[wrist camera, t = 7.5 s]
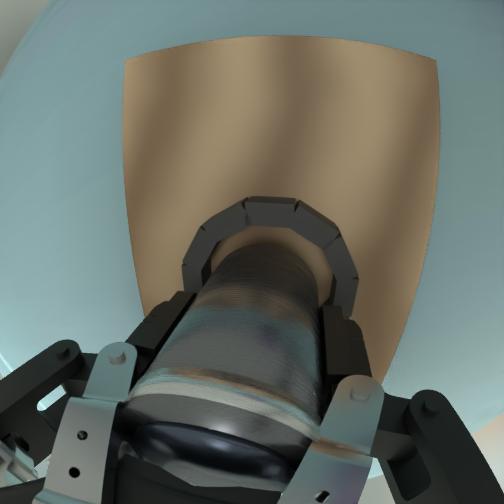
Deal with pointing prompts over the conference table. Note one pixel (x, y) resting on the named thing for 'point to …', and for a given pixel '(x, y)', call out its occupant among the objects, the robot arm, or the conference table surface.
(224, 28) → the conference table surface
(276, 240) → the mount
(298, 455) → the lens
